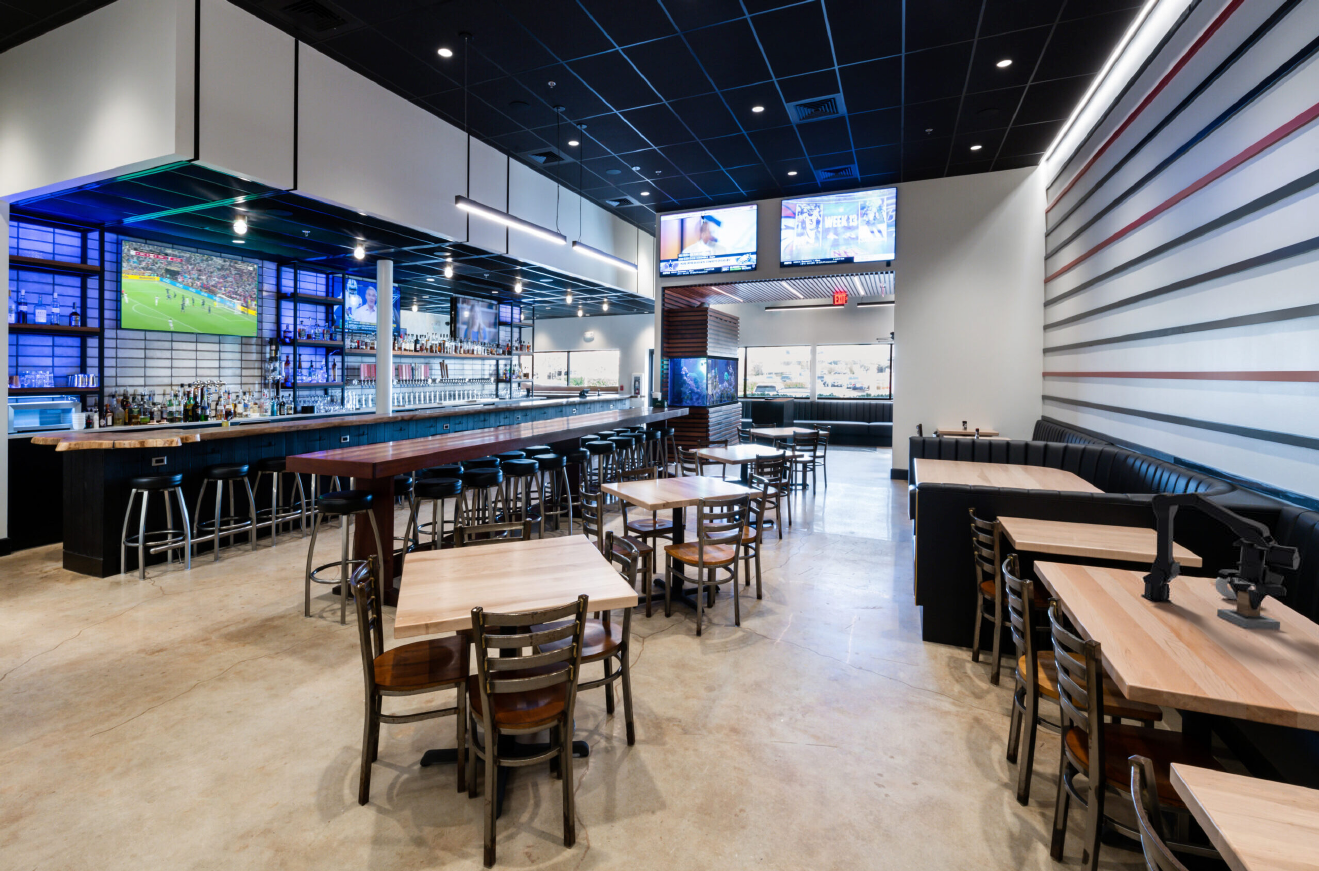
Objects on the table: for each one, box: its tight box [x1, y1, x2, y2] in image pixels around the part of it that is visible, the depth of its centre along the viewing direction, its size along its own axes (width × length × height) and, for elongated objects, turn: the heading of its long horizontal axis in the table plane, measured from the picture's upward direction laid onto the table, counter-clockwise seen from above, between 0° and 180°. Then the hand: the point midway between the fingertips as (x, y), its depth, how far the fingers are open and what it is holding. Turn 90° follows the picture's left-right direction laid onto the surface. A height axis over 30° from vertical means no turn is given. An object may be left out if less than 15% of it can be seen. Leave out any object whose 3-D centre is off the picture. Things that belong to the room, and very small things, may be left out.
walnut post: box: [1235, 591, 1262, 616], centre depth 199 cm, size 4×4×7 cm
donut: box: [1214, 576, 1253, 601], centre depth 221 cm, size 10×4×10 cm, turn 56°
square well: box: [1216, 608, 1281, 630], centre depth 200 cm, size 11×11×2 cm
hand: (1248, 607), depth 199 cm, fingers closed on walnut post, 4 cm apart
